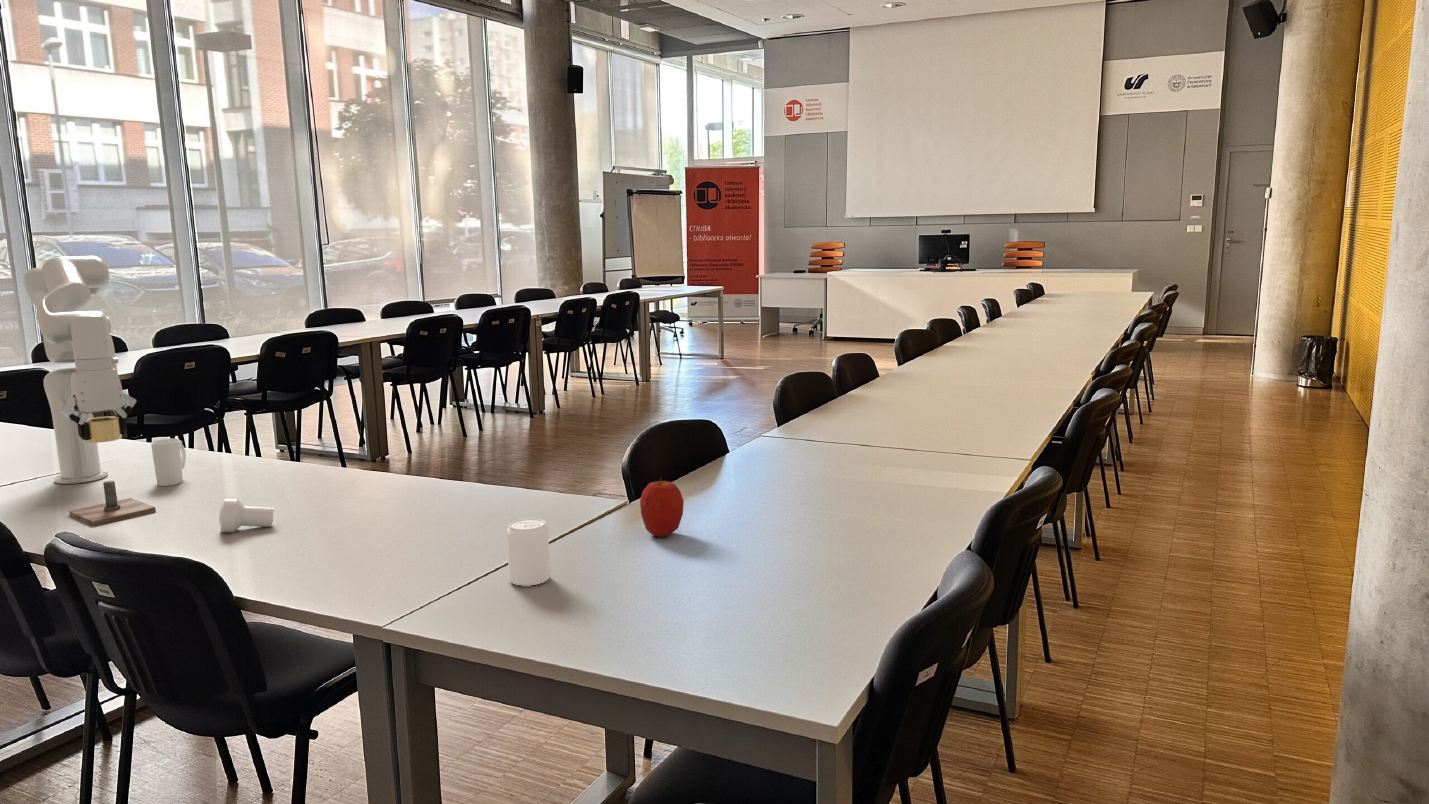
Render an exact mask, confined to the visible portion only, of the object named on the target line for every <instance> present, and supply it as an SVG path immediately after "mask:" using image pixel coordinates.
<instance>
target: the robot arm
mask: <svg viewBox="0 0 1429 804" xmlns="http://www.w3.org/2000/svg"><path fill="white" fill-rule="evenodd" d="M23 283H24V287H25V290H26V292H27V295H28V297H29V299H30V300H31V302H32V303H33V306H35V308H36V313H35V314H36V315H35V316H36V321H37V324H38V328H39V330H40V333H41V335H42V340H43V346H44V350H45V355H46V357H47V360H49V361H50V363H53V364H58V365H59V364H63V365H64V364H74V366H75V367H67V368H59V369H55V370H52V371H50V372H48V373H47V374H46V375H45V376H44V378H43V388H44V391H45V394H46V398H47V400H48V405H49V407H50V411H51V412H50V413H51V417H52V418H51V419H52V425H53V430H54V435H55V436H54V437H55V438H54V439H55V445H56V450H57V451H56V453H57V459H58V466H59V473H60V474H58V475H55V476H54V480H53V481H54V482H55V483H56V484H61V485H62V484H63V485H70V484H71V485H72V484H81V483H82V484H83V483H89V482H93V481H97V480H101V479H104V478H106V477H108V474H109V473H108V470H107V469H103V468H101V461H100V455H99V447H98V443H89V442H86V440H89V439H90V438H89V431H88V425H87V424H85V421H86V420H87V419H90V418H95V417H94V415H93V413H100V412H107V411H112V412H113V413H114V414H115V415H116V417H119V420H120V428H121V435H125V434H126V430H127V424H126V418H127V417H128V415H129V414H130V412H131V411H132V409H133V407H134V406H135V405H136V403H137V399H136V398H134V397H131V396H130V395H128V394H126V393H124V391H123V386H122V382H121V379H120V377H119V372H118V367H117V366H118V365H117V364H118V363H119V359H118V358H119V357H116V351H115V344H114V342H113V341H114V340H113V337H112V335H111V333H112V323H111V319H110V317H108V316H107V314H105V313H104V312H103V311H101V310H83V311H80V310H81V309H83V308H85V307H86V306H87V305H88V304H89V303H90V300H91V298H92V297H97V296H100V295H102V293H103V292H104V291H105V290H106V289H107V287H108V285H109V283H110V272H109V268H108V266H107V264H106V262H105V261H104V260H103V259H102V258H101V257H98V256H96V255H75V256H74V255H73V256H71V255H70V256H69V255H68V256H63V255H62V256H56V257H54V256H53V257H51V258H48V259H47V260H46V261H44V263H43V265H42V266H39V267H33V268H30V269H28V270H27V271H25V273H24V275H23ZM125 401H126V405H125Z"/></svg>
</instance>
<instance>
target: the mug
mask: <svg viewBox="0 0 1429 804" xmlns="http://www.w3.org/2000/svg"><path fill="white" fill-rule="evenodd" d="M150 444H151V452H152V459H153V466H154V472H155V479H156V485H157V486H160V487H167V486H168V487H169V486H174V485H180V484H182V483H184V482H183V481H184V479H183V469H185V466H186V457H187V455H186V449H185V446H184V445H183V441H182V440H180V439H179V438H163V439H161V438H160V439H156V440H153V441H151V442H150Z"/></svg>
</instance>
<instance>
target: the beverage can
mask: <svg viewBox="0 0 1429 804" xmlns="http://www.w3.org/2000/svg"><path fill="white" fill-rule="evenodd" d="M549 543H550V542H549V527H548V526H547V524H546V521H545V520H544V519H541V518H538V517H526V518H525V517H524V518H519V519H518V518H517V519H515V520H513V521H511V522H509V524H508V527H507V529H506V546H507V549H506V550H507V566H508V581H509V582H510V583H511V584H514V585H516V586H518V585H522V586H521V587H531V586H530V585H536V586H538V585H537V584H539V585H541V584H540V583H542V584H543V583H545V582H547V581H548V580H549V579H550V578H551V569H550V567H551V565H550V544H549Z"/></svg>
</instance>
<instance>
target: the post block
mask: <svg viewBox="0 0 1429 804" xmlns="http://www.w3.org/2000/svg"><path fill="white" fill-rule="evenodd" d="M102 484H103V491H104V498H105V503H101V504H96V505H91V506H87V507H83V508H77V509H73V510H69V512H68V513H69V514H68V515H69V517H72V518H74V519H75V520H78V521H81V522H83V523H85V524H88V525H89V526H91V527H96V526H101V525H104V524H110V523H112V522H117V521H122V520H127V519H131V518H135V517H138V516H139V517H140V516H145V515H147V514H152V513H156V512H157V511H156V507H155V506H153V505H151V504H148V503H145V502H142V501H140V500H137V499H135V498H132V497H128V498H125V499H120V500H118V497H117V489H116V482H115V480H107V481H104V482H103V483H102Z"/></svg>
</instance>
